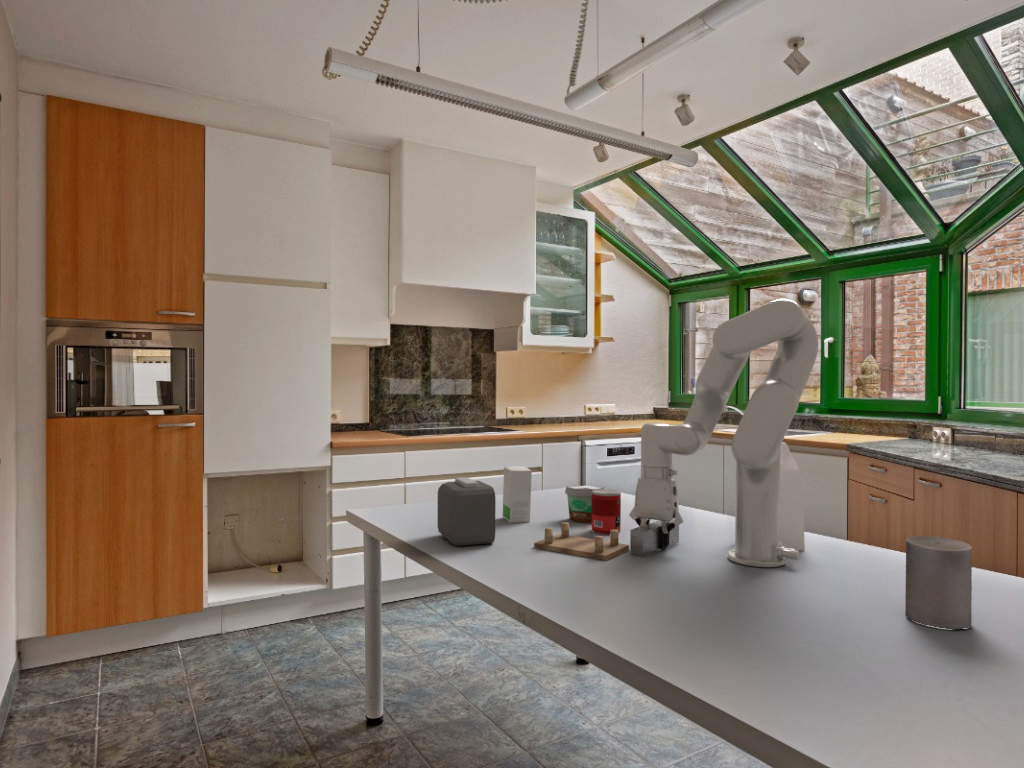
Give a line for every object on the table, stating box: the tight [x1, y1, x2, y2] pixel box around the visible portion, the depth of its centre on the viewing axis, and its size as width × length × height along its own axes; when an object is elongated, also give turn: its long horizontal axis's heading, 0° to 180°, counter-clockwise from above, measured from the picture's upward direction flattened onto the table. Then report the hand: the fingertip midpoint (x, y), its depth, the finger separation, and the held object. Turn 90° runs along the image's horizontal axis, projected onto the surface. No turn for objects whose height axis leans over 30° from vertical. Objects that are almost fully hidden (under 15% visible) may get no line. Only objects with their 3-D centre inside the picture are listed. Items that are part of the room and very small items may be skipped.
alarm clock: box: [437, 476, 497, 547], centre depth 169 cm, size 16×11×16 cm
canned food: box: [591, 488, 622, 535], centre depth 180 cm, size 8×8×11 cm
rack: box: [533, 521, 630, 562], centre depth 161 cm, size 20×12×5 cm, turn 55°
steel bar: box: [629, 518, 680, 558], centre depth 161 cm, size 18×4×6 cm, turn 139°
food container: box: [564, 486, 605, 524], centre depth 192 cm, size 12×6×10 cm, turn 73°
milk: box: [779, 441, 806, 551], centre depth 167 cm, size 12×12×26 cm
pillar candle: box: [904, 534, 973, 629], centre depth 113 cm, size 10×10×15 cm
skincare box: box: [502, 465, 533, 524], centre depth 194 cm, size 8×7×16 cm
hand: (655, 546), depth 161 cm, fingers closed on steel bar, 3 cm apart
